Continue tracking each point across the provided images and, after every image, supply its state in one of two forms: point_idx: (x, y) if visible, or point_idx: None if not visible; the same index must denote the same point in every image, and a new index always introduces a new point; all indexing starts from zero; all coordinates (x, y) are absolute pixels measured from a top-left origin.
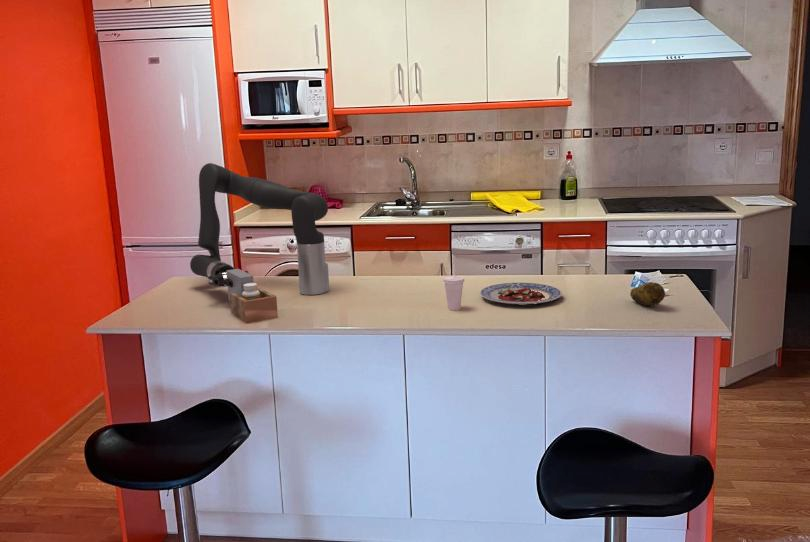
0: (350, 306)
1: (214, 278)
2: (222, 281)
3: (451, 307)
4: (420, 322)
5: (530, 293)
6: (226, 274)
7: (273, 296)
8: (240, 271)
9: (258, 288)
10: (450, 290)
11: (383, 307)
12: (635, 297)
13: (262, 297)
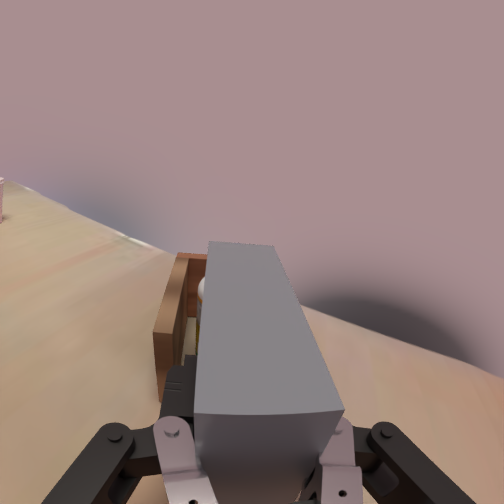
0: (16, 277)
1: (425, 456)
2: (355, 433)
3: (1, 217)
4: (59, 218)
5: None
6: (324, 490)
7: (184, 255)
8: (223, 320)
9: (161, 330)
10: (2, 193)
11: (7, 252)
12: None
13: (180, 315)
